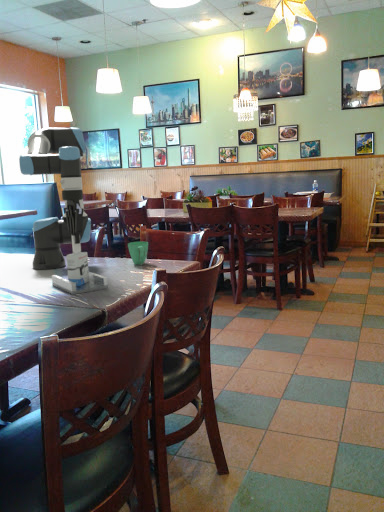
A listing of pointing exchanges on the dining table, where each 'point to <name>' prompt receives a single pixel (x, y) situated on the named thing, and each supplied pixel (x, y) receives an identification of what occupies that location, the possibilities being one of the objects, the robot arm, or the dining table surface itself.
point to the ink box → (78, 268)
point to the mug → (138, 251)
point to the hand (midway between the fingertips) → (76, 251)
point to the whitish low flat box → (94, 284)
